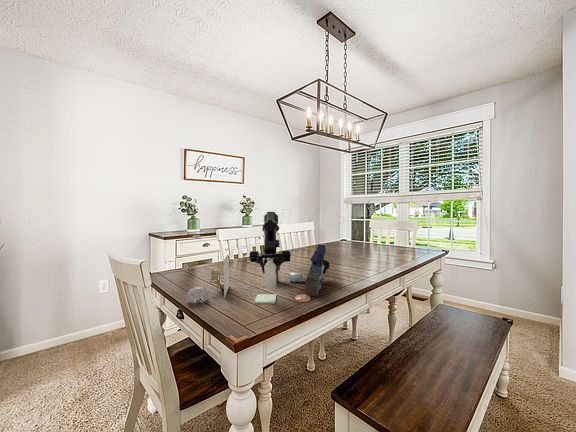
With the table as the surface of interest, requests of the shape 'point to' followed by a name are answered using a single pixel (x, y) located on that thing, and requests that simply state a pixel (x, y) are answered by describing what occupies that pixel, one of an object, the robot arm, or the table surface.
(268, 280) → the stoneware bottle
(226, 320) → the table surface
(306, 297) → the tan disc
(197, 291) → the pendant light
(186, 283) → the table surface
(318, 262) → the toy
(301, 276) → the white rounded cylinder
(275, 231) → the robot arm
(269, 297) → the pad
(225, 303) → the table surface
